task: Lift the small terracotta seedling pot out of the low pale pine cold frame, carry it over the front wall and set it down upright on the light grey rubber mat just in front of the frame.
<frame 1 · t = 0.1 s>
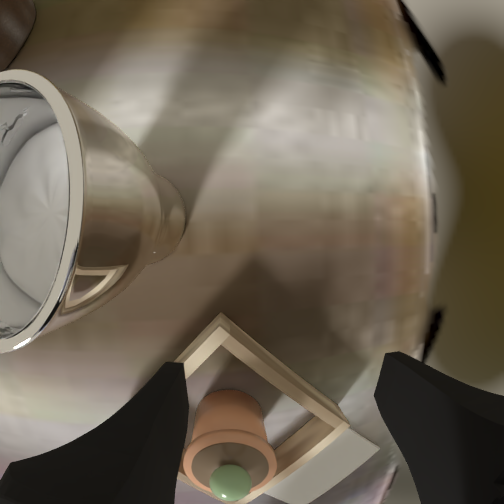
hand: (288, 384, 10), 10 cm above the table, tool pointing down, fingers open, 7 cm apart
cold frame: (229, 416, 21), on the table
terracotta pot: (229, 416, 21), resting in cold frame
beer glass: (141, 218, 20), on the table
grey mat: (318, 469, 22), on the table
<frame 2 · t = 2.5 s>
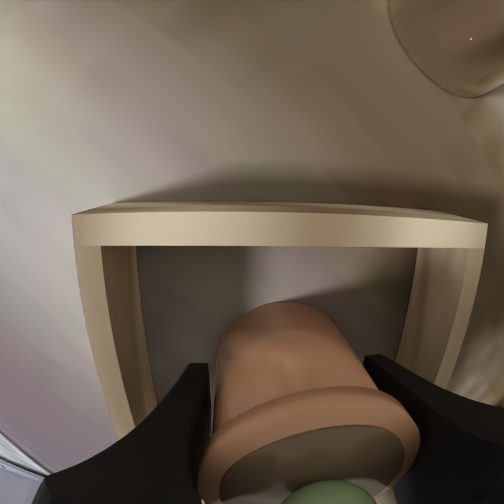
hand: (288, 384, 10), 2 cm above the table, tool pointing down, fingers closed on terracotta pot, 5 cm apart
cold frame: (281, 360, 12), on the table
terracotta pot: (281, 359, 12), resting in cold frame, touching gripper
beer glass: (444, 36, 9), on the table
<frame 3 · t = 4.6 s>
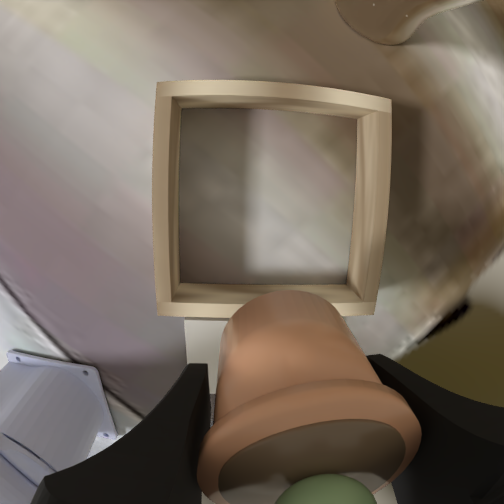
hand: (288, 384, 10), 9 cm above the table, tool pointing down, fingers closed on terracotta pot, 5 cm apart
cold frame: (269, 198, 18), on the table
terracotta pot: (284, 348, 12), point 8 cm above the table, touching gripper
beer glass: (374, 10, 15), on the table
grey mat: (261, 357, 20), on the table
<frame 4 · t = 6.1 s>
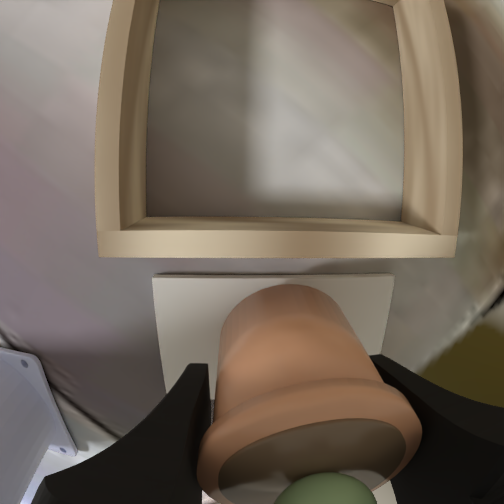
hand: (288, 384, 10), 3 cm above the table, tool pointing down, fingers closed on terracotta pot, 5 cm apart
cold frame: (284, 84, 11), on the table
terracotta pot: (285, 343, 12), point 1 cm above the table, touching gripper
grey mat: (276, 340, 13), on the table
when the fingers open (3 cm above the table, at t = 7.1 s): terracotta pot stays where it is, resting on grey mat.
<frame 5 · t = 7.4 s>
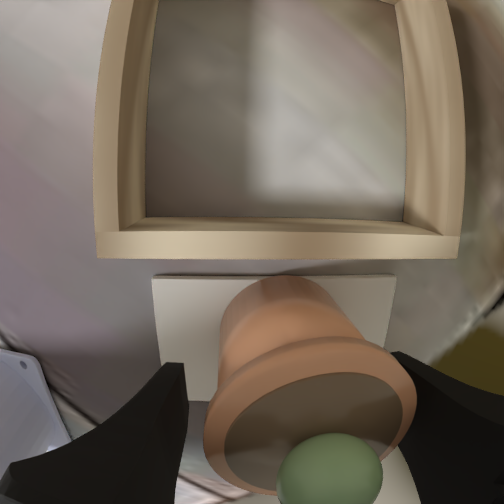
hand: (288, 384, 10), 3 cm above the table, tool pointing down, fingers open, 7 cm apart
cold frame: (285, 83, 10), on the table
terracotta pot: (281, 333, 12), resting on grey mat
grey mat: (276, 342, 13), on the table
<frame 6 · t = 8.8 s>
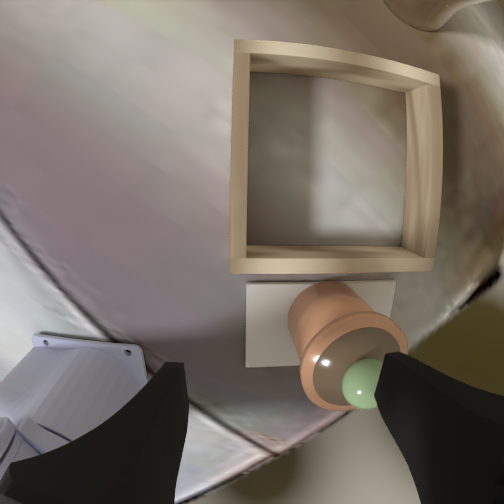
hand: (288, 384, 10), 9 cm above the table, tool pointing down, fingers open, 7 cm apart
cold frame: (333, 160, 17), on the table
terracotta pot: (325, 317, 19), resting on grey mat
beer glass: (411, 0, 15), on the table
grey mat: (321, 323, 20), on the table
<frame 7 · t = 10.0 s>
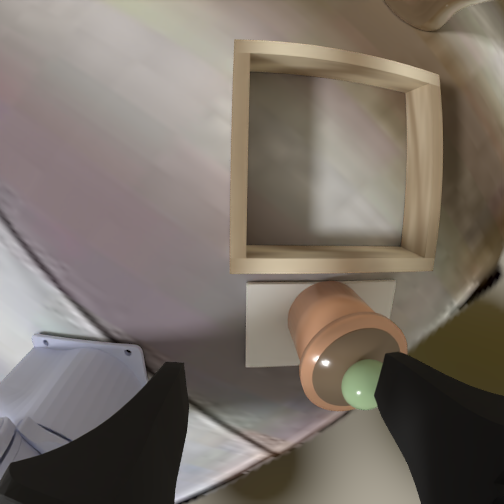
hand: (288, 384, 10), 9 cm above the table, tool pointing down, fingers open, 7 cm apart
cold frame: (333, 160, 17), on the table
terracotta pot: (325, 317, 19), resting on grey mat
beer glass: (411, 0, 15), on the table
grey mat: (321, 323, 20), on the table
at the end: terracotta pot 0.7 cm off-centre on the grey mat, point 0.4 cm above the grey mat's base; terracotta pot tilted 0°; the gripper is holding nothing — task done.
